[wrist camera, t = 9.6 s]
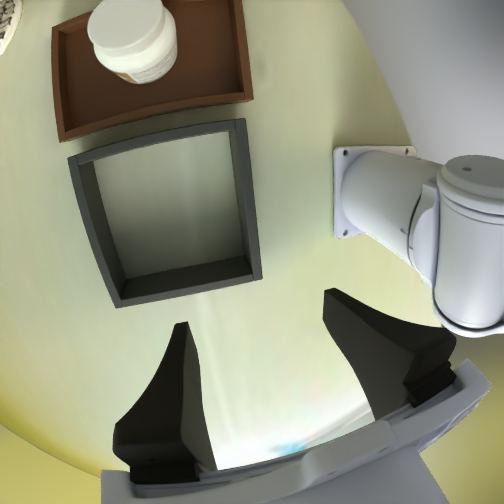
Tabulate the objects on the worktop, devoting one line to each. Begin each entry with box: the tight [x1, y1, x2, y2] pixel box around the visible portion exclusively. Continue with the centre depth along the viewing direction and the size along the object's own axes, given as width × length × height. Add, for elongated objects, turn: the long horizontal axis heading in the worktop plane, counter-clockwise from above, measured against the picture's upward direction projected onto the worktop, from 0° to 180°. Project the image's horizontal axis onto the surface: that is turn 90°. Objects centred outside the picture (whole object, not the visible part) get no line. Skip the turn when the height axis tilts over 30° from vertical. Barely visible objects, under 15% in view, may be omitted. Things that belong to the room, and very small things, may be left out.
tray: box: [51, 0, 254, 143], centre depth 13 cm, size 13×9×2 cm
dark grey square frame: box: [67, 118, 263, 308], centre depth 18 cm, size 11×11×3 cm
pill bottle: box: [87, 0, 177, 84], centre depth 10 cm, size 4×4×8 cm
